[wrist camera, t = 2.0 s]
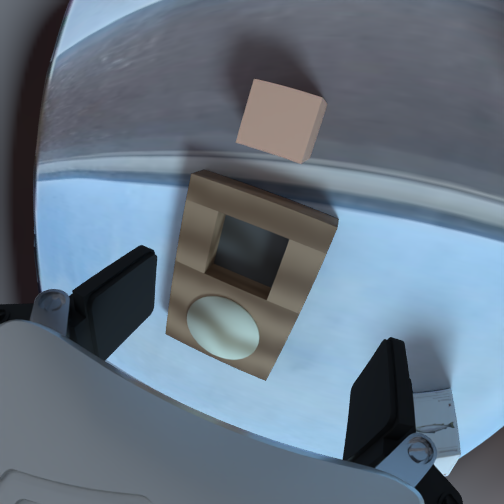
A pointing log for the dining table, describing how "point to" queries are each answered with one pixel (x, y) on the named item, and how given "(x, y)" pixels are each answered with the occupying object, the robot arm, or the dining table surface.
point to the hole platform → (243, 270)
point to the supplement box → (439, 426)
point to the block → (281, 121)
